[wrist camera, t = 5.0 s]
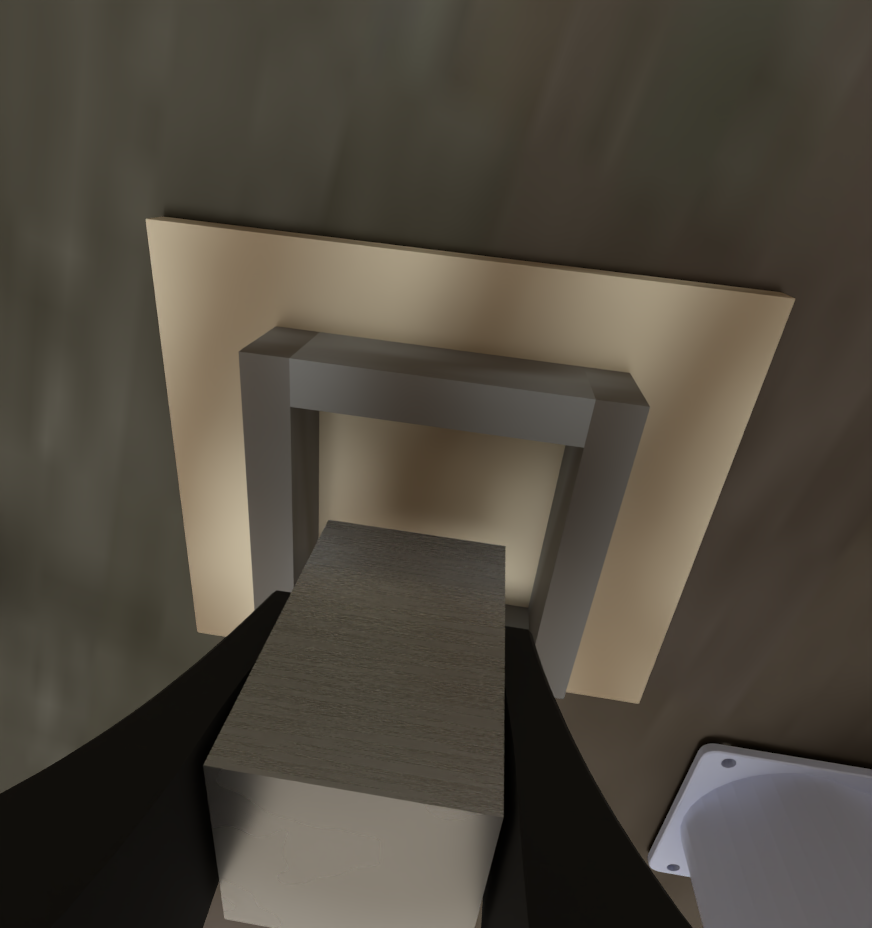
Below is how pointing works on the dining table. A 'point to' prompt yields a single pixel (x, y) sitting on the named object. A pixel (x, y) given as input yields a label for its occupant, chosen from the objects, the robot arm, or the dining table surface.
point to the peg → (368, 740)
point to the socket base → (456, 423)
